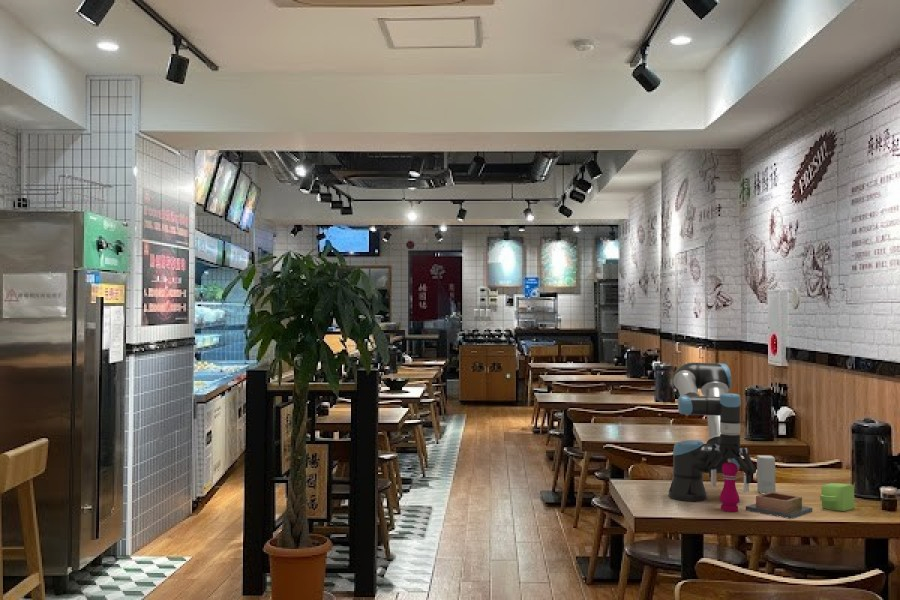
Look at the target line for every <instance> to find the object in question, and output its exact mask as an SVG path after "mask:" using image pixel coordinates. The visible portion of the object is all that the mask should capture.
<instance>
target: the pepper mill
mask: <svg viewBox="0 0 900 600" xmlns="http://www.w3.org/2000/svg"><path fill="white" fill-rule="evenodd" d="M727 461H728V462H726V463H724V464H723V465H722V472H723V473H724V474H723V475H722V476H723V477H722V478H723V481H724V482H723V487H722V490H721V492H720V495H719V501H720V502H721V505H720V510H721V511H723V510H724V511H723V512H726V511H728V513H736V512H738V511H739V505H738V504H739V502H740V496H739V495H740V494H739V492H738V491H737V487H736V481H737V474H738V473H739V470H738V467H737V465H736V464H735V463H732V459H731V458H729V459H728V460H727Z"/></svg>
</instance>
